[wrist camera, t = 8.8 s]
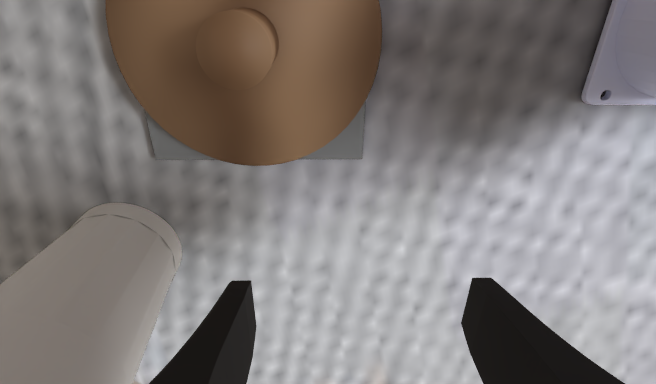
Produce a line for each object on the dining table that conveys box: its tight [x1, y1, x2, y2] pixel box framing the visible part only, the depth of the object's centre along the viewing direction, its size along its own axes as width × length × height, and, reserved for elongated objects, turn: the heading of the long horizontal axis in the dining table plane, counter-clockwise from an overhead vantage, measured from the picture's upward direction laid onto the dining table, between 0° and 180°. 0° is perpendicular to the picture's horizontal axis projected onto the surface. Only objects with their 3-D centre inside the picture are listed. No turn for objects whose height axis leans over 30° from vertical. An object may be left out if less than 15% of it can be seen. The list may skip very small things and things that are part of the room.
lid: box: [106, 0, 382, 166], centre depth 16 cm, size 12×12×4 cm
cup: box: [0, 203, 182, 384], centre depth 18 cm, size 8×8×12 cm
